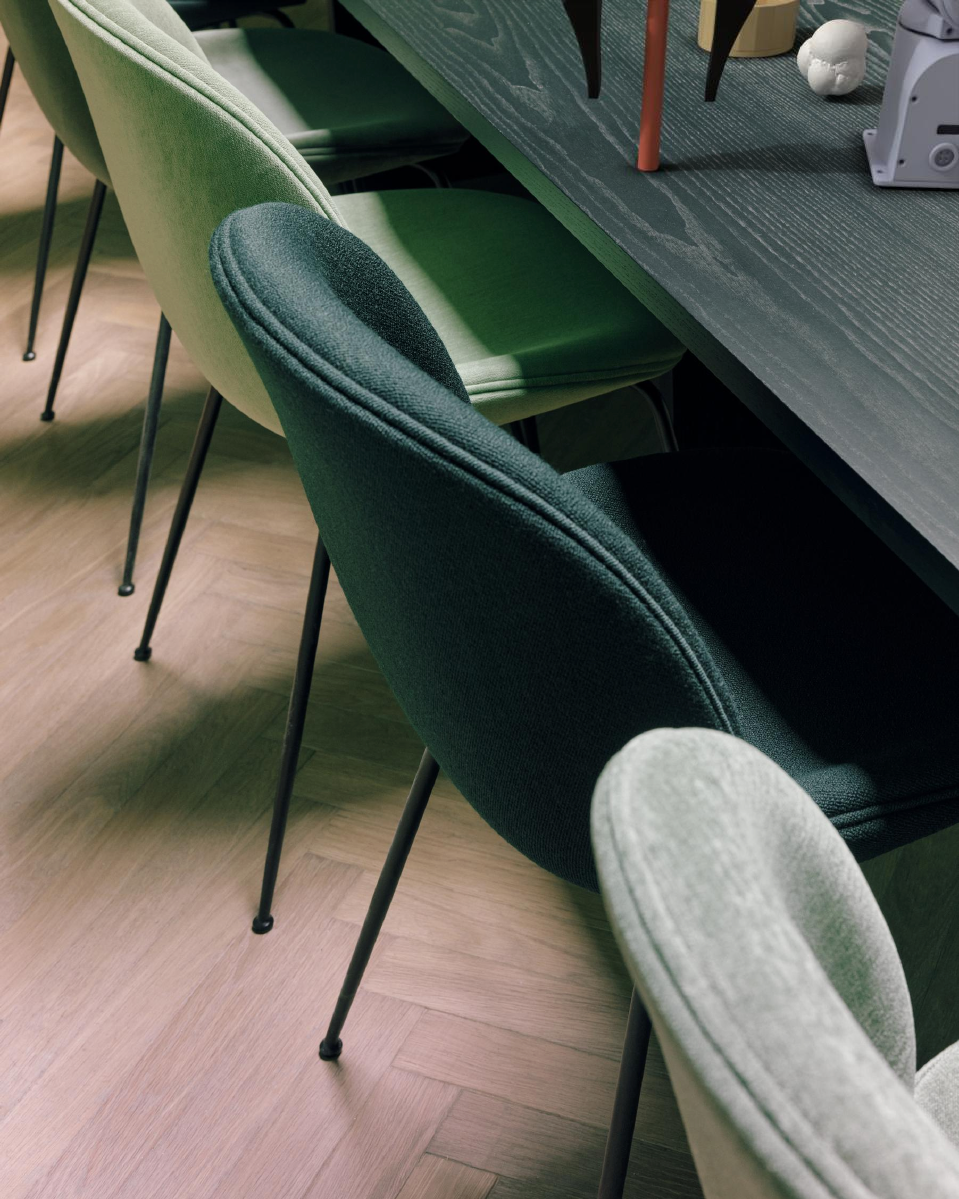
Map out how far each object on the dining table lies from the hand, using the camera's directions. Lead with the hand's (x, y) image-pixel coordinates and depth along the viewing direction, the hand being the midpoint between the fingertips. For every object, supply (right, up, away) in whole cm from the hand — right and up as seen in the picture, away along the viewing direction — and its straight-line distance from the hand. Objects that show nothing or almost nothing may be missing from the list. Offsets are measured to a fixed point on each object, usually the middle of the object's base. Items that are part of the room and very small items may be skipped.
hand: (651, 95), depth 81 cm
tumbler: (+12, +15, +24) cm, 30 cm away
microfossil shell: (+15, +5, +13) cm, 21 cm away
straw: (0, -4, +3) cm, 5 cm away
